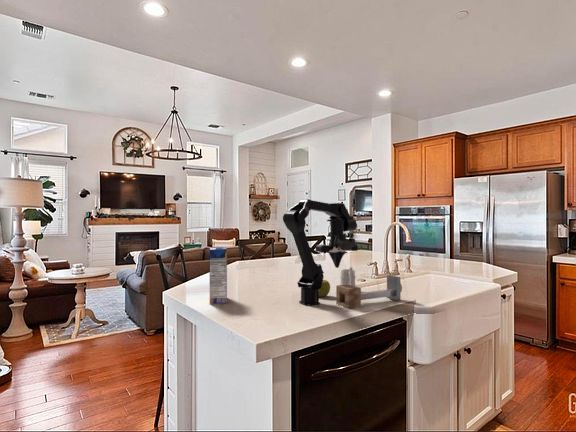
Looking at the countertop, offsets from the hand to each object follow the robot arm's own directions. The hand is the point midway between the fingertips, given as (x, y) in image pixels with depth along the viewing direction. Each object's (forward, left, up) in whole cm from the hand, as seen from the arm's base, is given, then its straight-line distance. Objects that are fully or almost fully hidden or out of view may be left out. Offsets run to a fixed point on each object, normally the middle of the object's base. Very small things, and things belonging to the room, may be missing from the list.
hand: (337, 267), depth 155 cm
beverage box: (-48, +17, -13) cm, 53 cm away
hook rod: (+9, -14, -13) cm, 21 cm away
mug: (+12, +8, -13) cm, 20 cm away
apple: (-5, +5, -13) cm, 15 cm away
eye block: (-4, -14, -13) cm, 20 cm away
